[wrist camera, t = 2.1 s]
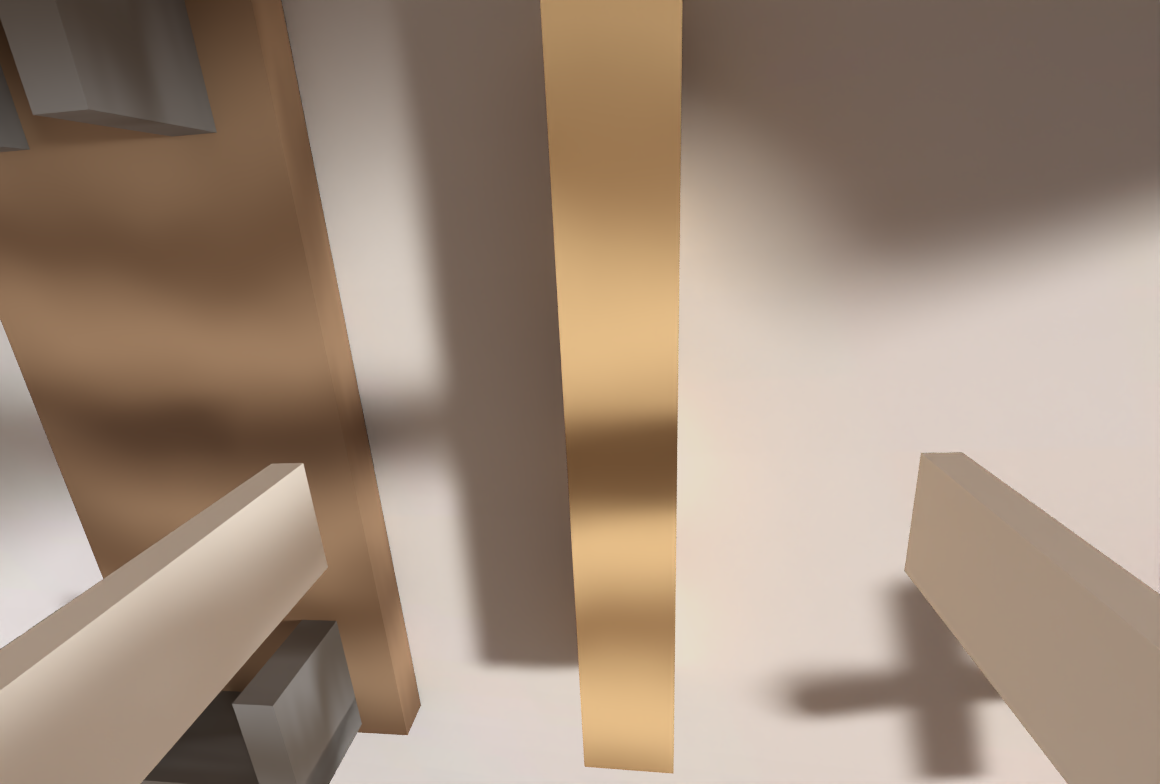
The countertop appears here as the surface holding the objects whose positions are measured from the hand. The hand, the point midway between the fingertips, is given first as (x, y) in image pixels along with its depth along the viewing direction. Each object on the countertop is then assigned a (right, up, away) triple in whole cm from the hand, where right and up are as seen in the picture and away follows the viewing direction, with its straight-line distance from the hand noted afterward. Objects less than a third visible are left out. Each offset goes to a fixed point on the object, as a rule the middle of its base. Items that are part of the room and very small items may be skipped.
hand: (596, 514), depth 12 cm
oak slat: (+1, +3, +8) cm, 8 cm away
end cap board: (-15, +2, +9) cm, 17 cm away
